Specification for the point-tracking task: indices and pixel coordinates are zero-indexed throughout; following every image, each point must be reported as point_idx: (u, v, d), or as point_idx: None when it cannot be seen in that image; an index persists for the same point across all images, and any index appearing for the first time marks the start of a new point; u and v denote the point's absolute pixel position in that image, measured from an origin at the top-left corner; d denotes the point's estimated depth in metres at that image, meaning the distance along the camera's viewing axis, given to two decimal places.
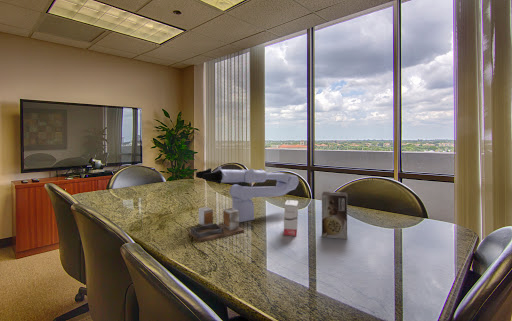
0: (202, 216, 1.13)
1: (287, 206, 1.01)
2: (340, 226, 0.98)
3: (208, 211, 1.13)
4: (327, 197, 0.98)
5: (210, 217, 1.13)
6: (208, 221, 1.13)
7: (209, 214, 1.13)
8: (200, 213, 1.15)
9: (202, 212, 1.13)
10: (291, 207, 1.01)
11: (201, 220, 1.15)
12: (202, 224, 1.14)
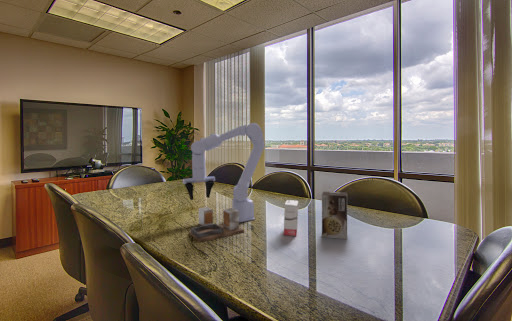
0: (202, 216, 1.13)
1: (287, 206, 1.01)
2: (340, 226, 0.98)
3: (208, 211, 1.13)
4: (327, 197, 0.98)
5: (210, 217, 1.13)
6: (208, 221, 1.13)
7: (209, 214, 1.13)
8: (200, 213, 1.15)
9: (202, 212, 1.13)
10: (291, 207, 1.01)
11: (201, 220, 1.15)
12: (202, 224, 1.14)
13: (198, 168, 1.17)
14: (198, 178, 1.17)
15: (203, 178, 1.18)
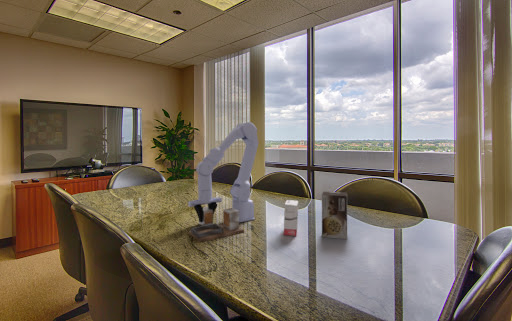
0: (202, 216, 1.13)
1: (287, 206, 1.01)
2: (340, 226, 0.98)
3: (208, 211, 1.13)
4: (327, 197, 0.98)
5: (210, 217, 1.13)
6: (208, 221, 1.13)
7: (209, 214, 1.13)
8: None
9: (202, 212, 1.13)
10: (291, 207, 1.01)
11: None
12: (202, 224, 1.14)
13: (204, 190, 1.12)
14: (204, 200, 1.12)
15: (209, 200, 1.13)
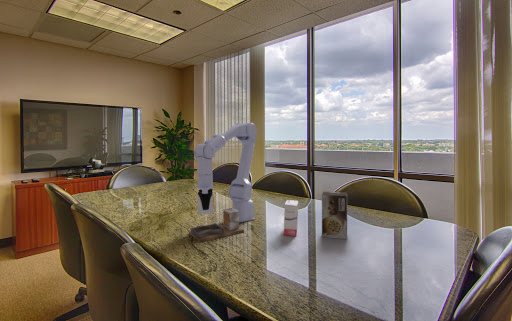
0: None
1: (287, 206, 1.01)
2: (340, 226, 0.98)
3: None
4: (327, 197, 0.98)
5: None
6: None
7: None
8: None
9: None
10: (291, 207, 1.01)
11: None
12: (208, 211, 1.05)
13: (211, 174, 1.05)
14: (212, 185, 1.05)
15: None
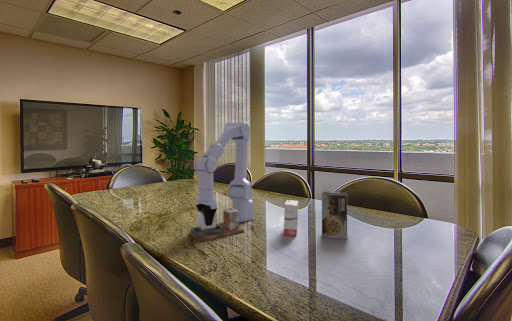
0: None
1: (287, 206, 1.01)
2: (340, 226, 0.98)
3: None
4: (327, 197, 0.98)
5: None
6: None
7: None
8: None
9: None
10: (291, 207, 1.01)
11: None
12: (211, 226, 1.02)
13: (213, 188, 1.03)
14: (213, 199, 1.03)
15: None
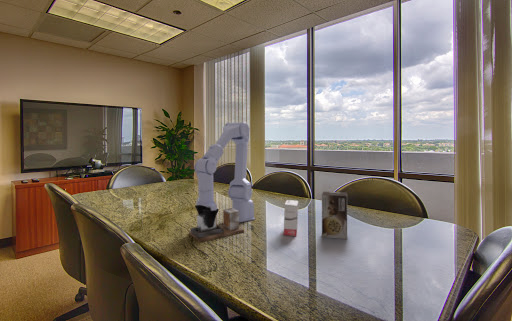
0: None
1: (287, 206, 1.01)
2: (340, 226, 0.98)
3: None
4: (327, 197, 0.98)
5: None
6: None
7: None
8: None
9: None
10: (291, 207, 1.01)
11: None
12: None
13: (213, 189, 1.03)
14: None
15: None
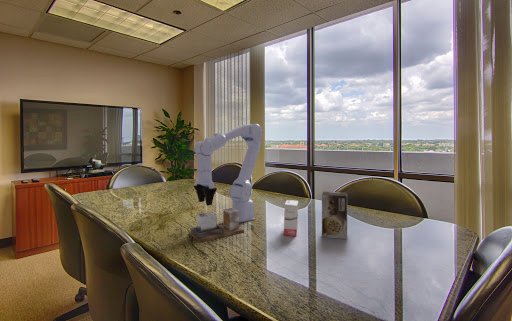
0: (212, 221, 1.02)
1: (287, 206, 1.01)
2: (340, 226, 0.98)
3: None
4: (327, 197, 0.98)
5: None
6: None
7: None
8: (206, 220, 1.01)
9: (212, 217, 1.02)
10: (291, 207, 1.01)
11: (209, 227, 1.02)
12: None
13: None
14: (211, 180, 1.11)
15: None
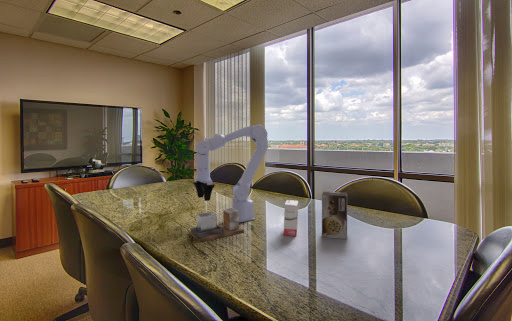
0: (212, 221, 1.02)
1: (287, 206, 1.01)
2: (340, 226, 0.98)
3: None
4: (327, 197, 0.98)
5: None
6: None
7: None
8: (206, 220, 1.01)
9: (212, 217, 1.02)
10: (291, 207, 1.01)
11: (209, 227, 1.02)
12: None
13: (209, 167, 1.19)
14: None
15: None
